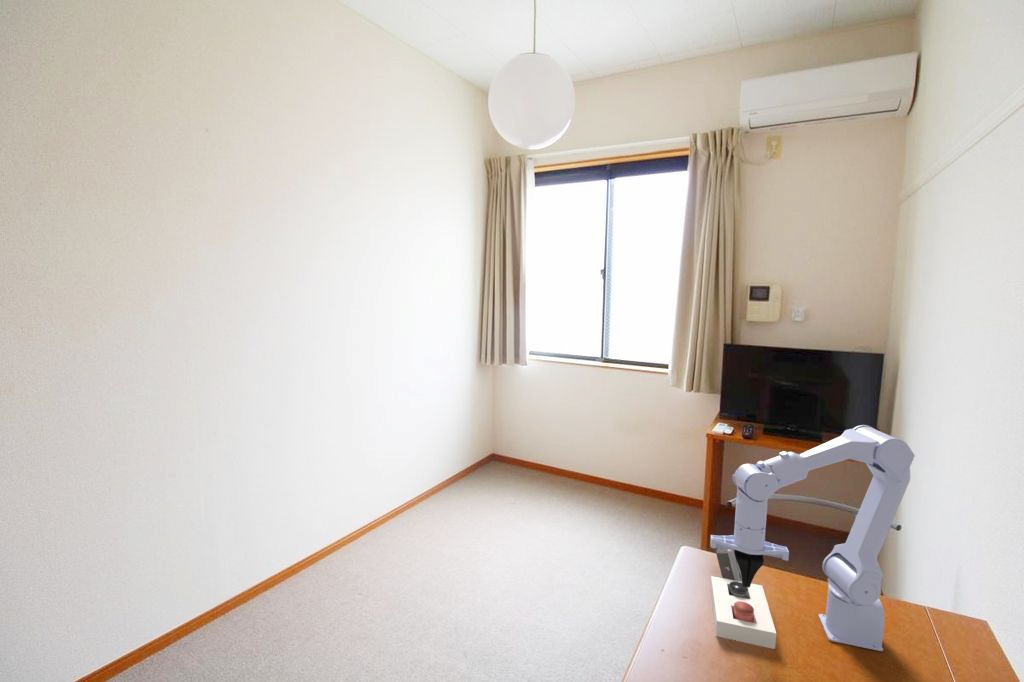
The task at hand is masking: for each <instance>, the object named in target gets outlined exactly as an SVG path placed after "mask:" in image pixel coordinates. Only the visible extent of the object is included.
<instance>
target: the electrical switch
mask: <svg viewBox="0 0 1024 682" xmlns="http://www.w3.org/2000/svg"><path fill="white" fill-rule="evenodd" d="M729 536H734V534H730V535H729ZM715 555H716V559H717V562H718V565H719V570H720V575H721V578H724V579H729V580H735V581H740V582H742V579H741V571H740V568H739V565H738V563H737V560H736V558H735V554H734V550H731V549H725V548H719V547H717V548H716V554H715ZM726 568H727V570H726Z"/></svg>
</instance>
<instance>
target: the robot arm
mask: <svg viewBox="0 0 1024 682" xmlns="http://www.w3.org/2000/svg"><path fill="white" fill-rule="evenodd" d="M778 454H779V455H777V456H774V457H771V458H769V459H766V460H763V461H762V460H759V461H757V462H756V464H753V463H744V464H741V465H740V466H738V468H737V469H736V470H735V472H734V474H732V481H733V484H734V485H735V486H736V499H735V500H736V501H735V513H734V514H735V515H734V530H733V535H734V536H730V535H714V534H710V540H709V541H710V542H709V543H710V544H709V545H710V548H711V549H716V550H717V547H719V548H725V549H731V550H734V554H735V558H736V560H737V563H738V565H739V568H740V571H741V579H742V580H741V582H742V585H743V586H744V587H750V585H751V584H752V582H753V579H754V578H755V576H756V574H757V572H758V571H759V570H760V568H762V566H763V565H764V563H765V562H764V560H765V559H764V556H769V557H775V558H779V559H782V560H783V561H787V562H788V561H789V557H790V551H789V549H788V546H783V545H779V544H775V543H771V542H769V541H766V528H767V514H768V500H769V499H771V498H772V497H773V496H774V494H775V493H776V491H779V489H781V488H783V487H787V486H790V485H792V484H794V483H797V482H799V481H803V480H806V479H807V477H808V474H809V471H813V470H815V469H819V468H822V467H825V466H829V465H832V464H835V463H841V462H842V461H846V460H853V461H856V462H860V463H865V465H866V467H867V468H868V469H869V471H870V472H871V474H872V479H871V481H870V483H869V485H868V488H867V491H866V493H865V495H864V498H863V500H862V503H861V505H860V507H859V510H858V512H857V515H856V517H855V520H854V522H853V524H852V526H851V529H850V530H849V531H850V532H849V534H848V536H847V539H846V541H845V543H844V542H843V543H840V544H839V543H838V544H835V545H834V546H833V549H832V550H831V551H830V553H829V554H828V555H827V556H826V557H825V558H824V559H823V561H822V571H823V572H824V574H825V575H826V576H827V583H828V586H827V587H828V588H827V599H826V607H825V608H826V609H825V614H823V613H819V614H818V619H819V621H820V623H821V626H822V627H823V630H824V632H825V634H826V637H827V639H828V640H829V641H830V642H835V643H840V644H845V645H850V646H853V647H859V648H864V649H868V650H874V651H878V652H883V651H884V648H883V640H884V638H883V637H884V630H885V629H884V628H885V620H886V619H885V609H884V606H883V604H882V601H881V599H880V597H881V594H882V585H881V583H882V579H883V578H884V573H883V572H882V569H881V566H880V563H879V562H878V556H879V554H880V552H881V549H882V547H883V544H884V542H885V540H886V537H887V535H888V532H889V530H890V528H891V526H892V524H893V522H894V519H895V516H896V514H897V512H898V509H899V507H900V505H901V502H902V500H903V498H904V495H905V493H906V491H907V488H908V487H909V483H910V480H911V465H912V463H913V461H914V458H915V457H916V455H915V453H914V452H913V450H912V449H911V447H910V446H909V445H908V443H907V442H906V441H904V440H903V439H900V438H899V437H893V436H891V435H890V434H887V433H884V432H882V431H879V430H877V429H876V428H874V427H873V426H870V425H869V424H868V425H867V424H861V425H857V426H855V427H853V428H849V429H845V430H844V431H843V433H841V435H840V436H837V437H835V438H833V439H831V440H828V441H827V442H825V443H822V444H819V445H818V446H815V447H813V448H811V449H808V450H806V451H804V452H801V453H800V454H799V453H796V452H793V451H788V452H787V451H785V450H783V451H781V452H779V453H778Z"/></svg>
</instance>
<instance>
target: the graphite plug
mask: <svg viewBox="0 0 1024 682" xmlns="http://www.w3.org/2000/svg"><path fill="white" fill-rule="evenodd" d="M747 593H748V587H744V586H743V585H742V583H740V582H731V583H730V594H729V595H731V596H736V597H741V598H747Z"/></svg>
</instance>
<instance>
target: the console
mask: <svg viewBox="0 0 1024 682" xmlns="http://www.w3.org/2000/svg"><path fill="white" fill-rule="evenodd" d="M731 582H740V581H735V580H729V579H724V578H722V577H717V576H713V575H711V577H710V590H709V591H710V598H711V605H712V614H713V624H714V623H715V624H714V633H715V637H718V638H721V639H722V638H723V639H727V640H731V639H732V641H735V640H736V642H741V643H744V644H749V645H753V646H754V645H755V646H758V647H762V648H763V647H764V648H767V649H773V650H776V642H777V641H776V640H777V631H776V628H775V627H776V626H775V624H774V620H773V617H772V614H771V611H770V607H769V603H768V600H767V598H766V593H765V591H764V586H763V585H760V584H756V583H751V585H750V587H748V593H747V598H741V597H736V596H731V595H729V594H730V583H731ZM740 583H742V581H741V582H740ZM738 601H741V602H746V603H748V604H750V605H751V606H752V607H753V608H754V614H753V622H752V623H751V622H747V621H742V620H737V619H734V603H735V602H738Z"/></svg>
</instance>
